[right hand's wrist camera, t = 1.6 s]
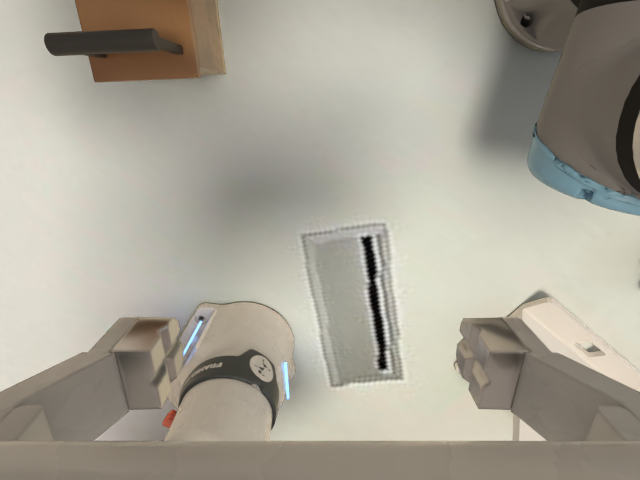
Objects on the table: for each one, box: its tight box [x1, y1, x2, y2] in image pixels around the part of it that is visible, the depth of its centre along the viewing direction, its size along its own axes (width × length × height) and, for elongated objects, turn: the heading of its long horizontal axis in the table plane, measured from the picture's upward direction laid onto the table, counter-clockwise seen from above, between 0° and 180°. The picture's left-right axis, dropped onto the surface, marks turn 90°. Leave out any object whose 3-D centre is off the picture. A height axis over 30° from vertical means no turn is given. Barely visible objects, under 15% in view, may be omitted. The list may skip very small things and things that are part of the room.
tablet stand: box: [454, 297, 640, 441], centre depth 51 cm, size 18×25×17 cm
